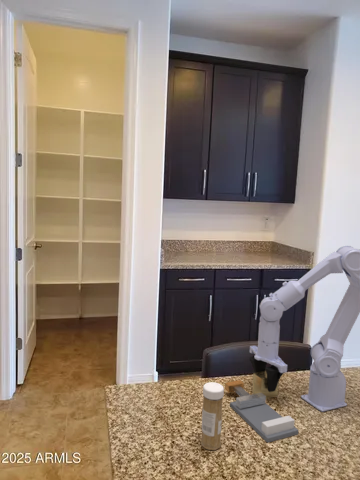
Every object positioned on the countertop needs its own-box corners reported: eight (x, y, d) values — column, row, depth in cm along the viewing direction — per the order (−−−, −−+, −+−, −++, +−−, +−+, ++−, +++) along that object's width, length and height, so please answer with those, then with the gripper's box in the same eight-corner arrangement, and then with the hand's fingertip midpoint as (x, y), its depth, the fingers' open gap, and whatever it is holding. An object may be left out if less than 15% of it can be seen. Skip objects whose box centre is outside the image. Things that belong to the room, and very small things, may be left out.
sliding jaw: (244, 385, 104) (244, 379, 104) (265, 403, 95) (265, 396, 95) (220, 390, 101) (220, 383, 101) (240, 408, 92) (240, 401, 92)
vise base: (257, 400, 99) (258, 389, 99) (298, 434, 84) (299, 422, 84) (229, 406, 95) (230, 395, 95) (267, 442, 81) (268, 430, 81)
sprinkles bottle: (224, 446, 79) (228, 388, 78) (208, 453, 76) (212, 393, 75) (211, 435, 82) (215, 379, 81) (196, 441, 80) (199, 384, 79)
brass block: (268, 389, 105) (270, 369, 105) (277, 396, 102) (279, 375, 101) (252, 392, 103) (253, 372, 103) (260, 399, 99) (261, 379, 99)
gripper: (242, 333, 106) (239, 376, 107) (273, 351, 93) (270, 401, 94) (261, 330, 109) (258, 373, 110) (294, 348, 96) (291, 396, 97)
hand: (265, 386), depth 102 cm, fingers open, 5 cm apart
